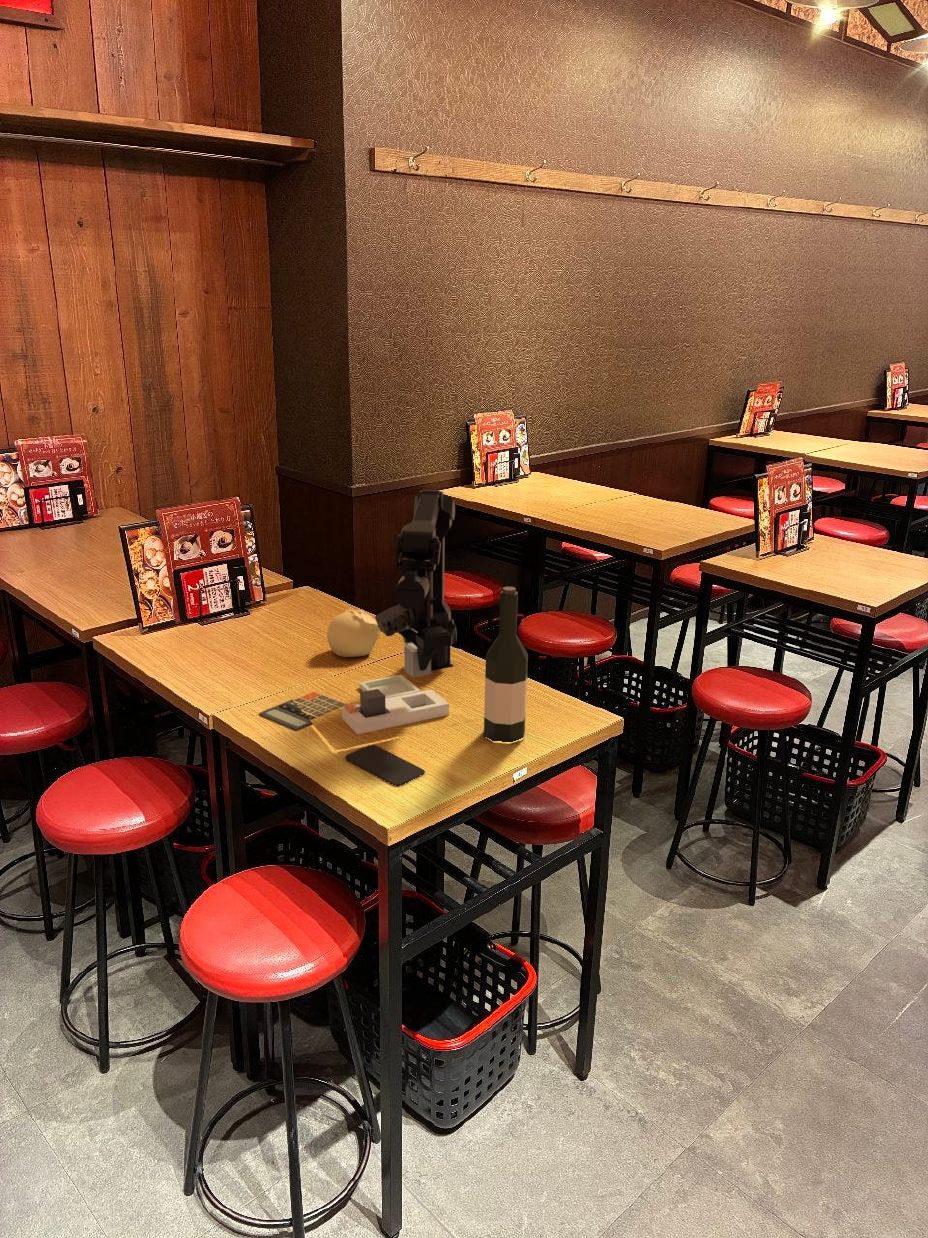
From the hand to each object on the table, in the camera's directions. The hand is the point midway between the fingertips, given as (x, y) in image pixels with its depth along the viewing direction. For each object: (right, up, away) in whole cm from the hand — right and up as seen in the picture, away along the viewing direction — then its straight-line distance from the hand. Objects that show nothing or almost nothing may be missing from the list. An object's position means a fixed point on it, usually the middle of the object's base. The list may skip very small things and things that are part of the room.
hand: (418, 666), depth 182 cm
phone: (-5, -18, -17) cm, 25 cm away
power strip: (-5, -11, +1) cm, 12 cm away
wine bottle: (+17, -13, -5) cm, 22 cm away
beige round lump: (-17, +1, +35) cm, 39 cm away
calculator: (-23, -10, +4) cm, 26 cm away
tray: (-7, -7, +13) cm, 16 cm away
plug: (0, -1, 0) cm, 1 cm away
